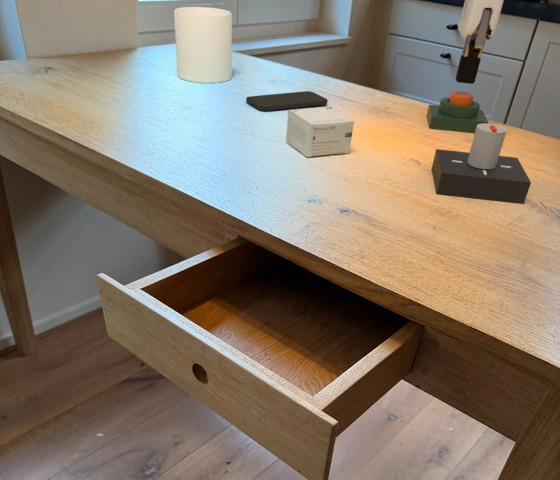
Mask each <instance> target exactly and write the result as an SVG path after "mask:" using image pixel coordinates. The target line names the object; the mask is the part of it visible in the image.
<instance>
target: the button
mask: <svg viewBox="0 0 560 480" xmlns="http://www.w3.org/2000/svg"><path fill="white" fill-rule="evenodd" d="M449 98H450V100H449V103H451V104H454V105H458V106H471V104H472V100H473V101H474V94H472V93H470V92H466V91H452V92H450V96H449Z"/></svg>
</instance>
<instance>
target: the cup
mask: <svg viewBox="0 0 560 480" xmlns="http://www.w3.org/2000/svg"><path fill="white" fill-rule="evenodd" d="M173 18H174V37H175V57H176V58H175V59H176V75H177V77H178V78H179V79H181V80H184V81H187V82H191V83H197V84H198V83H201V84H216V83H217V84H218V83H224V82H225V83H226V82H228V81H230V80H231V79H232V76H233V74H232V73H233V71H232V70H233V13H232V12H231V11H229V10H226V9H222V8H216V7H204V6H183V7H177V8H175V9H174V10H173Z"/></svg>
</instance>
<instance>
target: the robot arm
mask: <svg viewBox="0 0 560 480" xmlns="http://www.w3.org/2000/svg"><path fill="white" fill-rule="evenodd" d="M504 1H505V0H464V3H463V6H462V11H461V14H460V18H459V22H458V26H457V29H458V31H459V33H460V35H461V36H462V37H463V39H464V43H463V49H462V54H461V55H460V58H459V62H458V66H457V70H456V75H455V81H456V83H461V84H468V85H469V84H470V85H474V84H475V82H476V78H477V75H478V72H479V68H480V63H481V60H482V54H483V52H484V48H485V45H486V41H490V40H491V39H493V38H494V36H495V34H496V30H497V27H498V23H499V20H500V15H501V12H502V8H503V5H504Z"/></svg>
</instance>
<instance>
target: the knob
mask: <svg viewBox="0 0 560 480" xmlns="http://www.w3.org/2000/svg"><path fill="white" fill-rule="evenodd" d="M507 132H508V129H507V128H506V127H504V126H502V125H498V124H495V123H489V122H488V123H483V124H478V125H477V127H476V131H475V133H473V138H472V141H471V146H470V149H469V152H468V153H469V157H468V160H467V163H468V164H469V165H470V166H472V167H475V168H479V169H494V168H495V167H496V164H497V161H498V158H499V156H501V151H502V148H503V144H504V141H505V138H506V135H507Z"/></svg>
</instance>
